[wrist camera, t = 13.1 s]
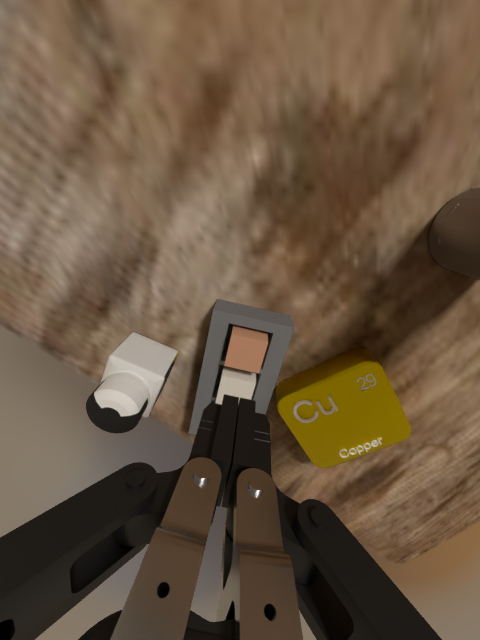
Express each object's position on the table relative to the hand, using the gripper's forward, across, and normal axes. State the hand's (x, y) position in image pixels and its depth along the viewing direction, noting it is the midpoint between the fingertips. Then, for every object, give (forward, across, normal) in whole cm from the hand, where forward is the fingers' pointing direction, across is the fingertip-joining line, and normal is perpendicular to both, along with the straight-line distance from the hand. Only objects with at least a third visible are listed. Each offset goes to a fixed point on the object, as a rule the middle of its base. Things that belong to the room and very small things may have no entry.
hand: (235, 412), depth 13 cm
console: (+25, -1, +14) cm, 28 cm away
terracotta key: (+23, -1, +8) cm, 24 cm away
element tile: (+26, -16, +16) cm, 35 cm away
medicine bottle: (+25, +12, +15) cm, 32 cm away
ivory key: (+23, -1, +14) cm, 27 cm away
